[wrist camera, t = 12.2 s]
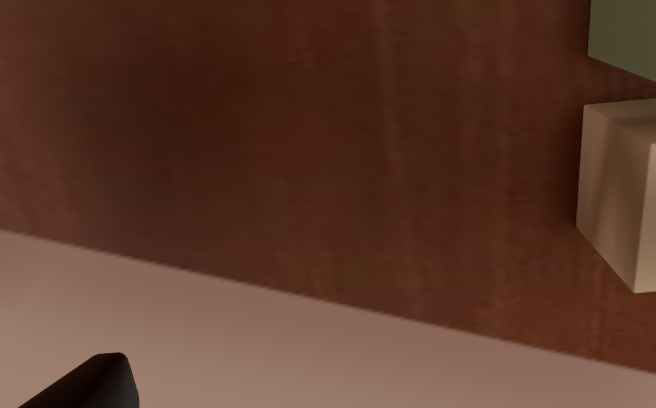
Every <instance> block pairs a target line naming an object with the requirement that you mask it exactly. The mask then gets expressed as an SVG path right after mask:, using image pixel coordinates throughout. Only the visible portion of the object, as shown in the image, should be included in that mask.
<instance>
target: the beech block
mask: <svg viewBox="0 0 656 408" xmlns="http://www.w3.org/2000/svg"><path fill="white" fill-rule="evenodd" d="M576 228H577V229H578V230H579V231H580V232H581V233H582V235H583V236H584V237H585V238H586V239H587V240H588V241H589V243H590V244H591V245H592V246H593V247H594V248H595V249H596V250H597V252H598V253H599V254H600V255H601V256H602V257H603V258H604V260H605V261H606V262H607V263H608V264H609V265H610V266H611V268H612V269H613V270H614V271H615V272H616V273H617V274H618V275H619V277H620V278H621V279H622V280H623V281H624V282H625V283H626V285H627V286H628V287H629V288H630V289H631V290H632V291H633V292H634V293H641V292H654V291H656V98H648V99H638V100H628V101H618V102H607V103H597V104H587V105H584V112H583V127H582V142H581V157H580V172H579V187H578V202H577V216H576Z"/></svg>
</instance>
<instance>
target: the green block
mask: <svg viewBox="0 0 656 408" xmlns="http://www.w3.org/2000/svg"><path fill="white" fill-rule="evenodd" d="M588 56H589V57H591V58H594V59H597V60H599V61H602V62H604V63H607V64H610V65H612V66H615V67H618V68H620V69H623V70H625V71H628V72H631V73H633V74H636V75H638V76H641V77H644V78H646V79H649V80H651V81H654V82H656V0H591V10H590V26H589V41H588Z"/></svg>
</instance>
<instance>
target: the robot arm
mask: <svg viewBox="0 0 656 408" xmlns="http://www.w3.org/2000/svg"><path fill="white" fill-rule="evenodd" d="M18 408H139V395H138V391H137V388H136V385H135V381H134V378H133V374H132V371H131V368H130V364H129V362H128V359H127V357H126V356H125V355H124V354H122V353H119V352H118V353H105V354H97V355H94V356H93V357H91V358H90V359H88V360H87V361H86V362H84V363H83V364H81V365H79V366H78V367H77V368H75V369H74V370H72V371H71V372H69V373H68V374H66V375H65V376H64V377H62V378H61V379H59V380H58V381H56V382H55V383H53V384H52V385H50V386H49V387H47V388H46V389H44V390H43V391H42V392H40V393H39V394H37V395H36V396H34V397H33V398H31V399H30V400H29V401H27V402H26V403H24V404H23V405H21V406H20V407H18Z"/></svg>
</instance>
